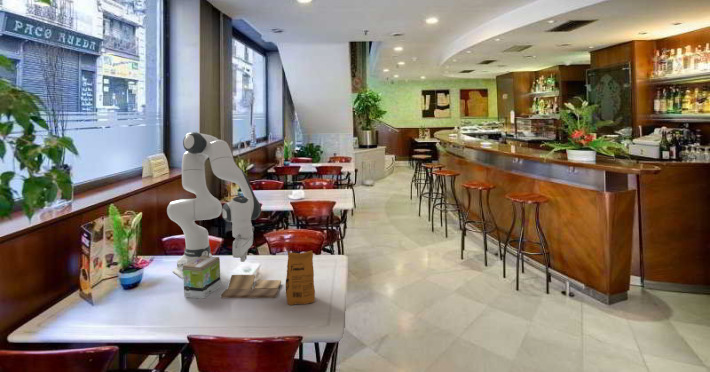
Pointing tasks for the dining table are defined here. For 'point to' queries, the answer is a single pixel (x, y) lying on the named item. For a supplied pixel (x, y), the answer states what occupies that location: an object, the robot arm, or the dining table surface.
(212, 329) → the dining table surface
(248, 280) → the plank
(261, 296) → the floor strip
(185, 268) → the tea box
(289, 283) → the coffee package
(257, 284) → the plank
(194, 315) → the dining table surface
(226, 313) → the dining table surface
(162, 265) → the dining table surface
